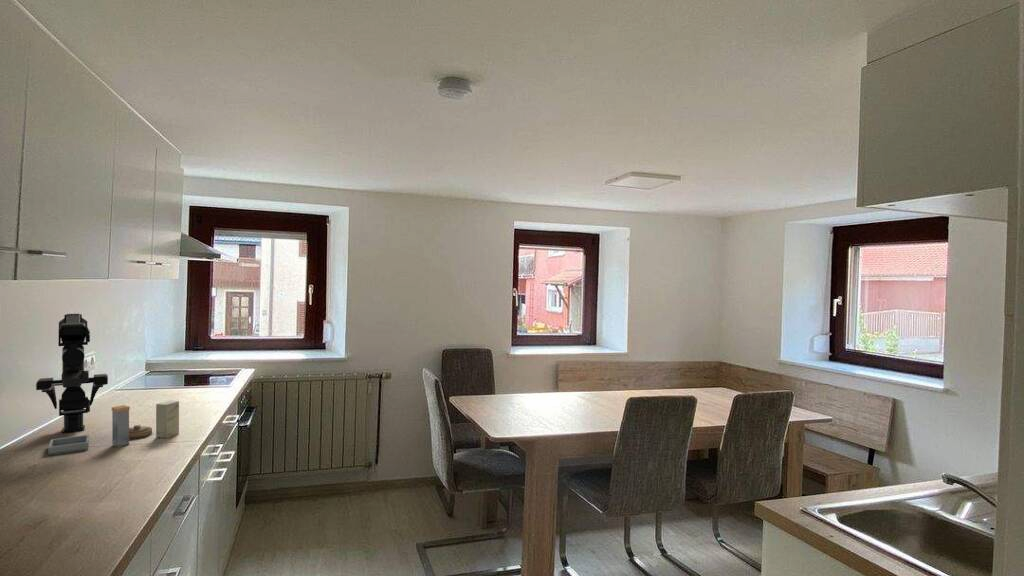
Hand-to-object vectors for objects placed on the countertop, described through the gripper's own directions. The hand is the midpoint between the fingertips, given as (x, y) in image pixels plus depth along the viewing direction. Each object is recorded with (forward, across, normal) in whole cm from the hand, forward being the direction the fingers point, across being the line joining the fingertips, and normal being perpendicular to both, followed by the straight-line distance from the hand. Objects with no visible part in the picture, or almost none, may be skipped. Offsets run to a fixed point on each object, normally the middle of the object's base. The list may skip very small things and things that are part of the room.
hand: (73, 407), depth 187 cm
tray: (+14, -1, -1) cm, 14 cm away
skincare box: (+14, +27, -2) cm, 30 cm away
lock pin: (+14, +13, -6) cm, 20 cm away
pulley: (+14, +18, +4) cm, 23 cm away
